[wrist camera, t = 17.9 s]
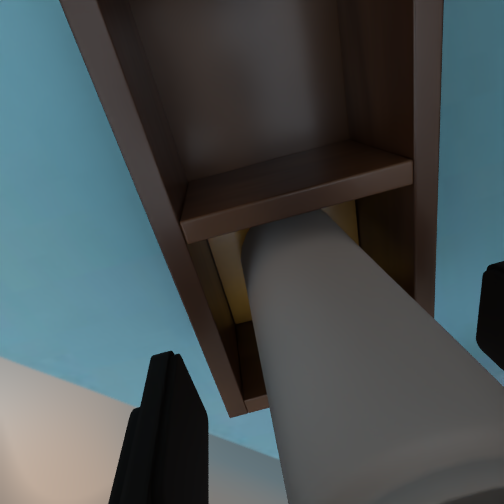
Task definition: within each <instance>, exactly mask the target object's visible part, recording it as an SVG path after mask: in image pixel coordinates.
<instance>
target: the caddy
mask: <svg viewBox="0 0 504 504" xmlns="http://www.w3.org/2000/svg"><path fill="white" fill-rule="evenodd" d="M59 1H60V4H61V6H62V9H63V11H64V14H65V16H66V18H67V21H68V23H69V26H70V28H71V31H72V33H73V36H74V38H75V40H76V43H77V45H78V48H79V50H80V53H81V55H82V58H83V60H84V62H85V65H86V67H87V70H88V72H89V75H90V77H91V80H92V82H93V84H94V87H95V89H96V92H97V94H98V97H99V99H100V102H101V104H102V106H103V109H104V111H105V114H106V116H107V119H108V121H109V124H110V126H111V128H112V131H113V133H114V136H115V138H116V141H117V143H118V146H119V148H120V150H121V153H122V155H123V158H124V160H125V163H126V165H127V168H128V170H129V172H130V175H131V177H132V180H133V182H134V185H135V187H136V190H137V192H138V194H139V197H140V199H141V202H142V204H143V207H144V209H145V212H146V214H147V217H148V219H149V221H150V224H151V226H152V229H153V231H154V234H155V236H156V239H157V241H158V243H159V246H160V248H161V251H162V253H163V256H164V258H165V261H166V263H167V265H168V268H169V270H170V273H171V275H172V278H173V280H174V283H175V285H176V287H177V290H178V292H179V295H180V297H181V300H182V302H183V305H184V307H185V309H186V312H187V314H188V317H189V319H190V322H191V324H192V327H193V329H194V331H195V334H196V336H197V339H198V341H199V344H200V346H201V349H202V351H203V353H204V356H205V358H206V361H207V363H208V366H209V368H210V371H211V373H212V375H213V378H214V380H215V383H216V385H217V388H218V390H219V393H220V395H221V397H222V400H223V402H224V405H225V407H226V410H227V412H228V415H229V417H230V418H232V417H236V416H240V415H243V414H247V413H251V412H254V411H258V410H262V409H265V408H269V402H268V397H267V392H266V387H265V382H264V377H263V372H262V367H261V361H260V356H259V351H258V346H257V341H256V336H255V331H254V325H253V320H252V315H251V310H250V304H249V299H248V294H247V289H246V284H245V279H244V274H243V269H242V263H241V251H242V245H243V243H244V240H245V237H246V234H247V233H248V231H249V229H250V228H251V227H255V226H258V225H262V224H266V223H270V222H273V221H277V220H281V219H285V218H288V217H292V216H296V215H300V214H303V213H307V212H311V211H315V210H318V209H321V210H322V211H324V212H325V213H326V214H327V215H328V216H329V217H330V218H331V219H332V220H333V221H334V222H335V223H336V224H337V225H338V226H339V227H340V228H341V229H342V230H343V231H344V232H345V233H346V234H347V235H348V236H349V237H350V238H351V239H352V240H353V241H354V242H355V243H356V244H357V245H358V246H359V247H360V248H361V249H362V250H363V251H364V252H365V253H366V254H367V255H368V256H369V257H371V258H372V259H373V260H374V261H375V262H376V263H377V264H378V265H379V266H380V267H381V268H382V269H383V270H384V271H385V272H386V273H387V274H388V275H389V276H390V277H391V278H392V279H393V280H394V281H395V282H396V283H397V284H398V285H399V286H400V287H401V288H402V289H403V290H404V291H405V292H407V293H408V294H409V295H410V296H411V297H412V298H413V299H414V300H415V301H416V302H417V303H418V304H419V305H420V306H421V307H422V308H423V309H424V310H425V311H426V312H427V313H428V314H429V315H430V316H431V317H432V318H434V305H435V272H436V238H437V205H438V172H439V138H440V105H441V72H442V38H443V5H444V0H59Z"/></svg>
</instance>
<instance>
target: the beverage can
mask: <svg viewBox="0 0 504 504" xmlns="http://www.w3.org/2000/svg"><path fill="white" fill-rule="evenodd" d="M241 263H242V269H243V274H244V279H245V284H246V289H247V294H248V299H249V304H250V310H251V315H252V320H253V325H254V331H255V336H256V341H257V346H258V351H259V356H260V361H261V367H262V372H263V377H264V382H265V387H266V392H267V397H268V402H269V407H270V412H271V417H272V422H273V427H274V432H275V438H276V443H277V448H278V453H279V458H280V463H281V468H282V473H283V478H284V483H285V488H286V493H287V498H288V503H289V504H504V387H503V386H502V385H501V384H500V383H499V382H498V381H497V380H496V379H495V378H494V377H493V376H492V375H491V374H490V373H489V372H488V371H487V370H486V369H485V368H484V367H483V366H482V365H481V364H480V363H479V362H478V361H477V360H476V359H475V358H474V357H473V356H472V355H471V354H470V353H469V352H468V351H466V350H465V349H464V348H463V347H462V346H461V345H460V344H459V343H458V342H457V341H456V340H455V339H454V338H453V337H452V336H451V335H450V334H449V333H448V332H447V331H446V330H445V329H444V328H443V327H442V326H441V325H440V324H439V323H438V322H437V321H436V320H435V319H434V318H432V317H431V316H430V315H429V314H428V313H427V312H426V311H425V310H424V309H423V308H422V307H421V306H420V305H419V304H418V303H417V302H416V301H415V300H414V299H413V298H412V297H411V296H410V295H409V294H408V293H407V292H405V291H404V290H403V289H402V288H401V287H400V286H399V285H398V284H397V283H396V282H395V281H394V280H393V279H392V278H391V277H390V276H389V275H388V274H387V273H386V272H385V271H384V270H383V269H382V268H381V267H380V266H379V265H378V264H377V263H376V262H375V261H374V260H373V259H372V258H371V257H369V256H368V255H367V254H366V253H365V252H364V251H363V250H362V249H361V248H360V247H359V246H358V245H357V244H356V243H355V242H354V241H353V240H352V239H351V238H350V237H349V236H348V235H347V234H346V233H345V232H344V231H343V230H342V229H341V228H340V227H339V226H338V225H337V224H336V223H335V222H334V221H333V220H332V219H331V218H330V217H329V216H328V215H327V214H326V213H325V212H324V211H322V210H321V209H318V210H315V211H311V212H307V213H303V214H300V215H296V216H292V217H288V218H285V219H281V220H277V221H273V222H270V223H266V224H262V225H258V226H255V227H251V228H250V229H249V231H248V233H247V234H246V237H245V240H244V243H243V245H242V251H241Z"/></svg>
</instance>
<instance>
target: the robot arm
mask: <svg viewBox="0 0 504 504" xmlns="http://www.w3.org/2000/svg"><path fill="white" fill-rule="evenodd" d="M476 341H477V344H478V346H479V347H480V349H481V350H482V351H483V352H484V353H485V354H486V355H487V356H488V357H490V358H491V359H492V360H493V361H494V362H495V363H496V364H497V365H498V366H499V367H500V368H501V369H502V370H503V371H504V261H502V262H499V263H495V264H491V265H489V266H488V267H487V270H486V271H485V272H484V273H483V278H482V287H481V296H480V305H479V315H478V324H477V333H476ZM108 504H208V417H207V413H206V410H205V408H204V406H203V403H202V401H201V399H200V397H199V395H198V392H197V390H196V388H195V386H194V384H193V381H192V379H191V377H190V375H189V373H188V370H187V368H186V366H185V364H184V362H183V359H182V357H181V355H180V354H176V355H174V353H173V352H172V351H168V352H164V353H160V354H157V355H153V356H152V357H151V360H150V364H149V369H148V374H147V378H146V383H145V387H144V392H143V397H142V401H141V406H140V407H138V408H135V409H133V411H132V412H131V414H130V418H129V421H128V426H127V430H126V433H125V437H124V442H123V446H122V450H121V454H120V458H119V462H118V466H117V470H116V475H115V478H114V483H113V487H112V491H111V495H110V499H109V503H108Z"/></svg>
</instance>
